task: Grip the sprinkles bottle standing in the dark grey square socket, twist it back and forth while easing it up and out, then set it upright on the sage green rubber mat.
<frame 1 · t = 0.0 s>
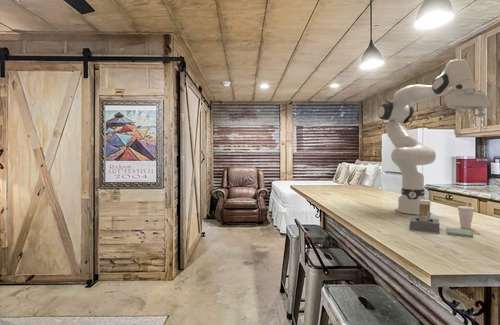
hand: (472, 116, 131), 52 cm above the table, tool tilted 20°, fingers open, 8 cm apart
socket block: (424, 228, 134), on the table
smoothie: (465, 228, 135), on the table
rubber mat: (458, 233, 126), on the table
sprinkles bottle: (424, 228, 134), resting in socket block
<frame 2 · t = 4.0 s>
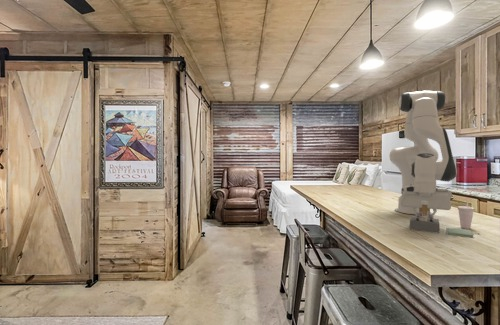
hand: (424, 217, 134), 5 cm above the table, tool pointing down, fingers closed on sprinkles bottle, 4 cm apart
sprinkles bottle: (424, 228, 134), resting in socket block, touching gripper
everything else where it was.
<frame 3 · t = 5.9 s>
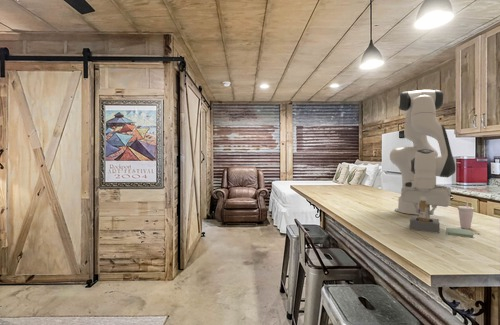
hand: (424, 213, 134), 7 cm above the table, tool pointing down, fingers closed on sprinkles bottle, 4 cm apart
sprinkles bottle: (424, 225, 135), point 2 cm above the table, touching gripper
everything else where it was.
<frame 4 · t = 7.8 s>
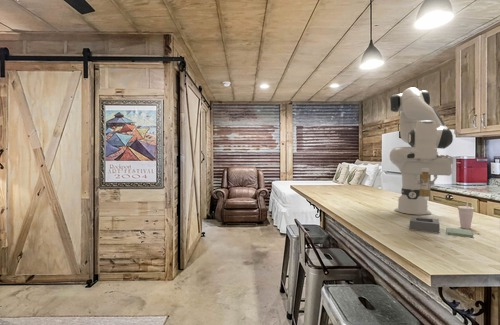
hand: (425, 184, 134), 21 cm above the table, tool pointing down, fingers closed on sprinkles bottle, 4 cm apart
sprinkles bottle: (424, 196, 134), point 15 cm above the table, touching gripper
everything else where it was.
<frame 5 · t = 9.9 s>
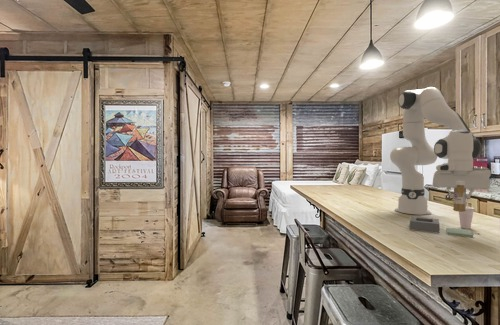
hand: (459, 198, 125), 16 cm above the table, tool pointing down, fingers closed on sprinkles bottle, 4 cm apart
sprinkles bottle: (459, 211, 126), point 10 cm above the table, touching gripper
everything else where it was.
when the fingers open (8 cm above the table, at t = 11.6 s): sprinkles bottle stays where it is, resting on rubber mat.
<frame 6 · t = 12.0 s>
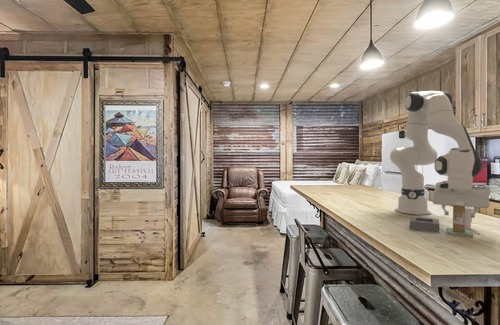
hand: (459, 216, 126), 8 cm above the table, tool pointing down, fingers open, 8 cm apart
sprinkles bottle: (458, 231, 126), point 1 cm above the table, touching rubber mat
everything else where it was.
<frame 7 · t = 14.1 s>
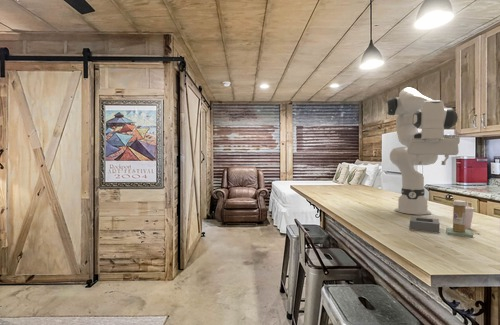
hand: (431, 164, 135), 30 cm above the table, tool pointing down, fingers open, 8 cm apart
nothing on the table moved.
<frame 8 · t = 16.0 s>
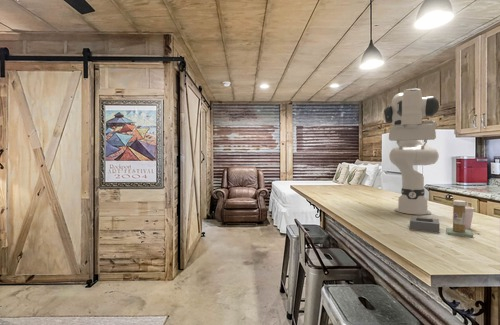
hand: (411, 149, 141), 37 cm above the table, tool pointing down, fingers open, 8 cm apart
nothing on the table moved.
at the end: sprinkles bottle inside the target area on the rubber mat (0.1 cm from its centre), point 0.8 cm above the rubber mat's base; sprinkles bottle tilted 0°; the gripper is holding nothing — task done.
